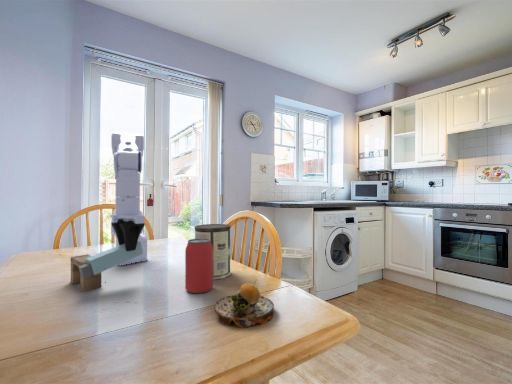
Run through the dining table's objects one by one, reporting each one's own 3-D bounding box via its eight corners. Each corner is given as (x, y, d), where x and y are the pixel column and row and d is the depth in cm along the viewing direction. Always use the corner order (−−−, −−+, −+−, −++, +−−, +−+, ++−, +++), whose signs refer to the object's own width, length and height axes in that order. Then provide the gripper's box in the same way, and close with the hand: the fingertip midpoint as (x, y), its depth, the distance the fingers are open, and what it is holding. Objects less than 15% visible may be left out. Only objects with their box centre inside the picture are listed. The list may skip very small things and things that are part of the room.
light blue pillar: (137, 251, 73) (134, 239, 72) (143, 253, 71) (139, 240, 70) (80, 276, 63) (76, 262, 62) (85, 279, 61) (80, 264, 60)
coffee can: (208, 267, 84) (208, 223, 84) (236, 272, 80) (236, 224, 80) (186, 277, 75) (186, 226, 75) (217, 282, 70) (217, 228, 70)
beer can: (217, 286, 67) (217, 238, 67) (204, 296, 61) (204, 243, 61) (194, 283, 69) (195, 237, 69) (179, 292, 63) (179, 241, 63)
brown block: (87, 278, 73) (87, 254, 73) (101, 286, 67) (101, 260, 67) (70, 282, 70) (70, 257, 70) (83, 291, 64) (83, 263, 64)
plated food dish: (247, 297, 61) (247, 264, 61) (287, 314, 52) (287, 276, 52) (201, 313, 52) (201, 275, 53) (239, 337, 44) (239, 291, 44)
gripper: (100, 197, 71) (100, 247, 71) (123, 197, 62) (123, 256, 61) (127, 196, 76) (127, 244, 76) (152, 197, 67) (152, 251, 67)
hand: (127, 249), depth 69 cm, fingers closed on light blue pillar, 3 cm apart
